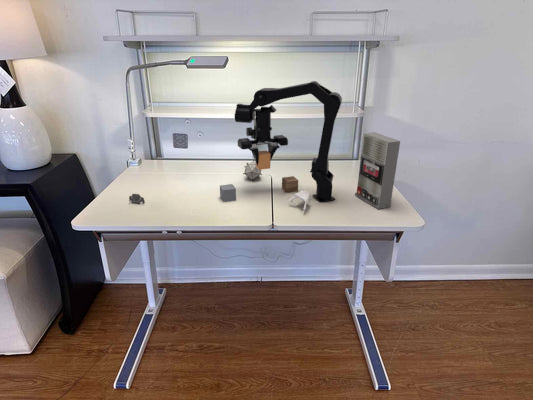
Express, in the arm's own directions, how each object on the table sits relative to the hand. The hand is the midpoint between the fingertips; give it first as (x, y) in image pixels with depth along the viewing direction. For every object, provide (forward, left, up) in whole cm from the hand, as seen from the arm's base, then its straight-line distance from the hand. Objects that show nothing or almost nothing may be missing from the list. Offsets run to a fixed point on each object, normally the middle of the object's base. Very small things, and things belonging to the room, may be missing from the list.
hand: (262, 163), depth 146 cm
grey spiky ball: (+15, -1, -12) cm, 19 cm away
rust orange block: (0, 0, -2) cm, 2 cm away
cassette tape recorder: (-23, -36, -12) cm, 44 cm away
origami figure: (-19, -8, -12) cm, 24 cm away
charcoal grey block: (-2, +15, -12) cm, 19 cm away
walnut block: (-2, -11, -12) cm, 16 cm away
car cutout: (+3, +45, -13) cm, 47 cm away
